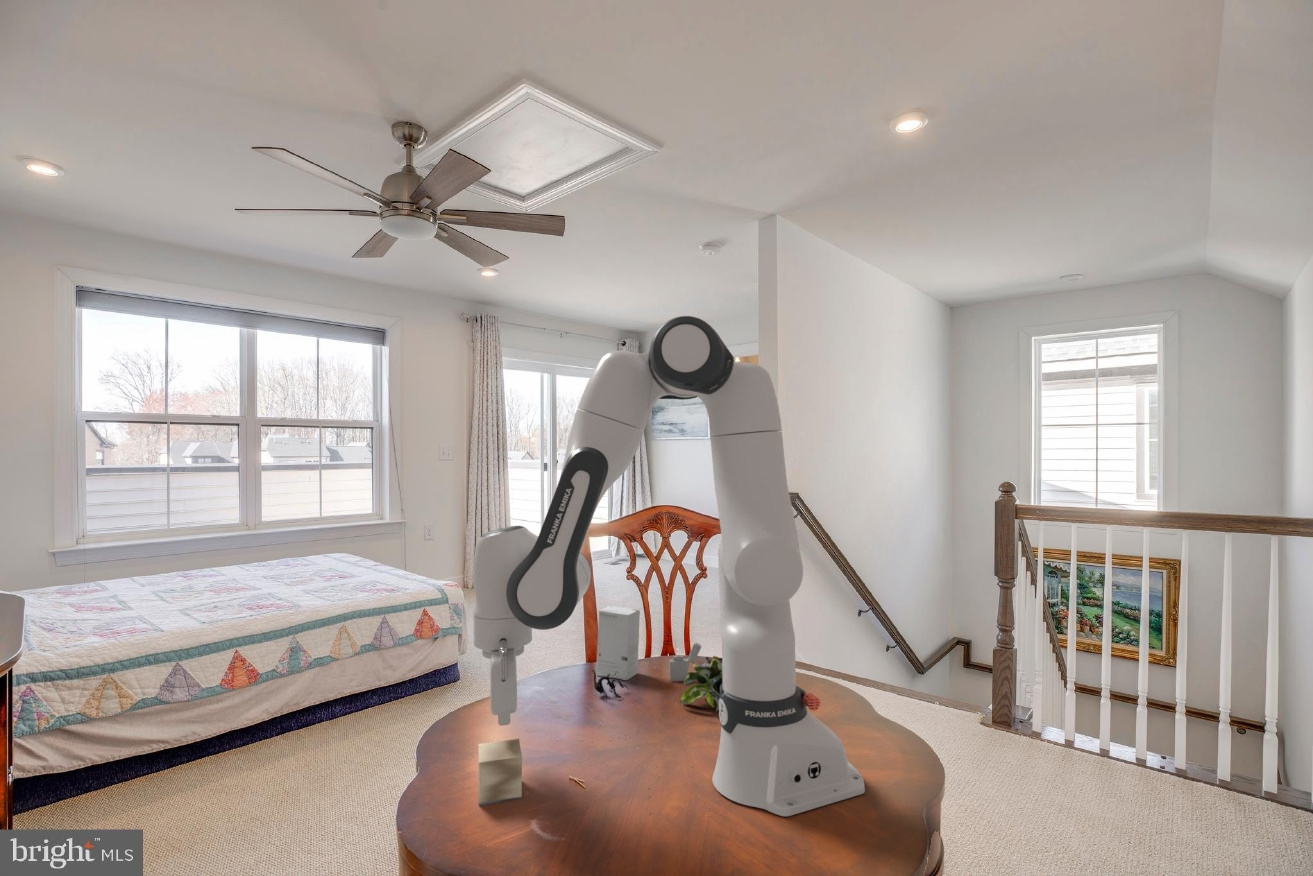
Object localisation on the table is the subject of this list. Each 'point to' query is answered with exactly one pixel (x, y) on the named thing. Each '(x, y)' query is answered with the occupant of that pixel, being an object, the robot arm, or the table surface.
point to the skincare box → (618, 642)
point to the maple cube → (499, 771)
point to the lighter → (682, 664)
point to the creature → (600, 688)
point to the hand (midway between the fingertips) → (504, 721)
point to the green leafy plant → (704, 682)
